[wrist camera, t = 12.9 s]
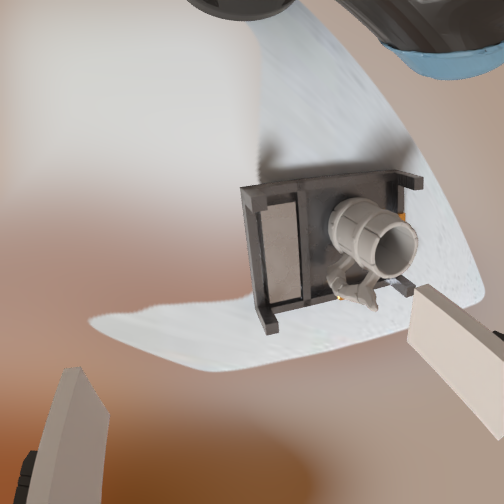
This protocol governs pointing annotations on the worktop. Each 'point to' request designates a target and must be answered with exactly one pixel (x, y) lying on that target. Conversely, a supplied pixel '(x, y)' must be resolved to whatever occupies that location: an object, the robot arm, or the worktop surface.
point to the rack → (309, 237)
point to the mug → (368, 247)
